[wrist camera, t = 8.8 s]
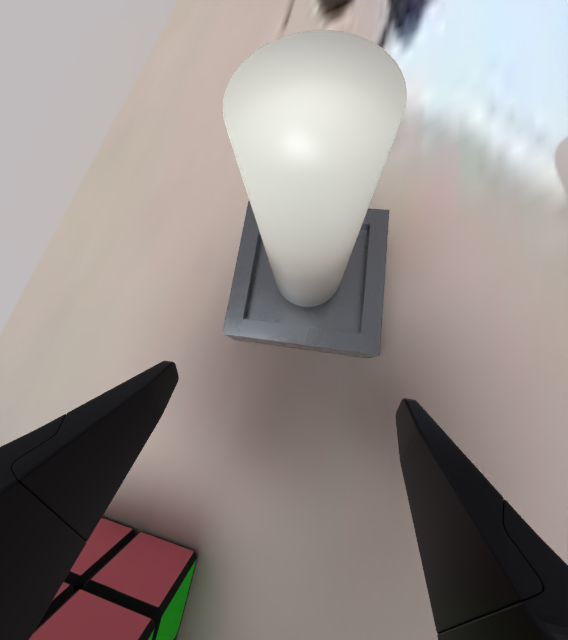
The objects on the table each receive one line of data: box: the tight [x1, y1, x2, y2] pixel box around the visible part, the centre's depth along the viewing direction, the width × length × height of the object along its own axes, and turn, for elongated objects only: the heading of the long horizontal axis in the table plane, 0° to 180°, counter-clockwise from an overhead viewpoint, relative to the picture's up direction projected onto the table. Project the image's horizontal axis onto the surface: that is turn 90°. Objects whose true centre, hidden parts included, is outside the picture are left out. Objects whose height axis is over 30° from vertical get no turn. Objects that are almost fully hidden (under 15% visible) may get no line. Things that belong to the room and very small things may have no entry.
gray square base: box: [222, 201, 389, 358], centre depth 20 cm, size 11×11×3 cm
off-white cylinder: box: [223, 30, 407, 307], centre depth 13 cm, size 5×5×12 cm
